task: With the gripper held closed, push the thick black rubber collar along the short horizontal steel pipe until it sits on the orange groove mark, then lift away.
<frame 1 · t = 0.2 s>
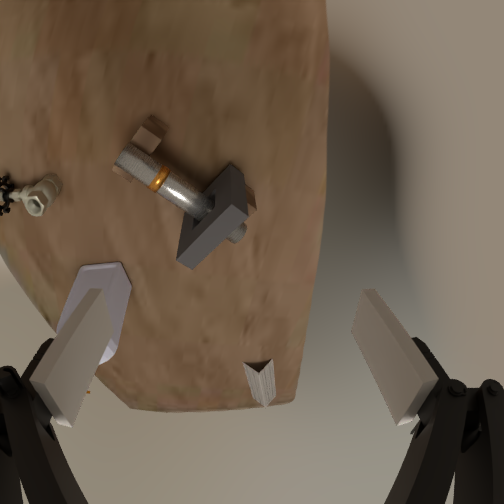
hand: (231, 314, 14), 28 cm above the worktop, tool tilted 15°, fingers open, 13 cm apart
valve: (35, 183, 37), on the worktop
saddles: (188, 171, 39), on the worktop
pipe: (182, 194, 34), on the saddles, point 6 cm above the worktop
corner bead: (261, 379, 85), on the worktop
collar: (211, 214, 36), point 6 cm above the worktop, slide at 0.0 cm
soap bottle: (107, 275, 51), on the worktop
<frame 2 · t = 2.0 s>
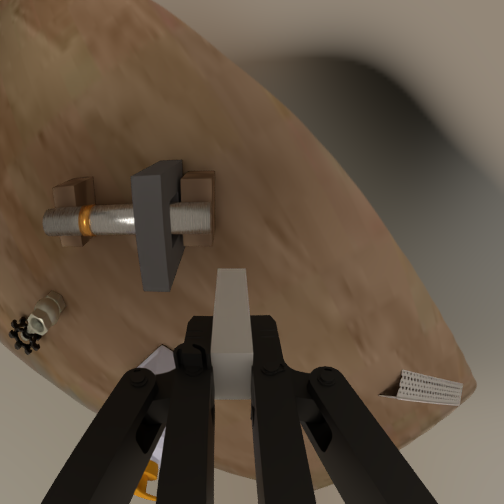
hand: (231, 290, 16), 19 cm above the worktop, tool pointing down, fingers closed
valve: (46, 310, 39), on the worktop
saddles: (139, 202, 33), on the worktop
pipe: (121, 219, 27), on the saddles, point 6 cm above the worktop
corner bead: (425, 387, 54), on the worktop
collar: (163, 218, 27), point 6 cm above the worktop, slide at 0.0 cm
soap bottle: (165, 367, 44), on the worktop
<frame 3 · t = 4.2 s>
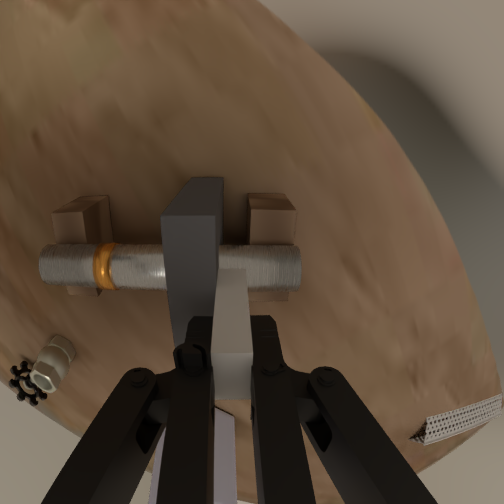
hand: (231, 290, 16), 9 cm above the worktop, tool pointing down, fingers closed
valve: (52, 355, 31), on the worktop
saddles: (176, 233, 25), on the worktop
pipe: (158, 267, 19), on the saddles, point 6 cm above the worktop
corner bead: (459, 413, 46), on the worktop
collar: (202, 268, 19), point 7 cm above the worktop, slide at 1.5 cm, touching gripper
soap bottle: (198, 418, 36), on the worktop
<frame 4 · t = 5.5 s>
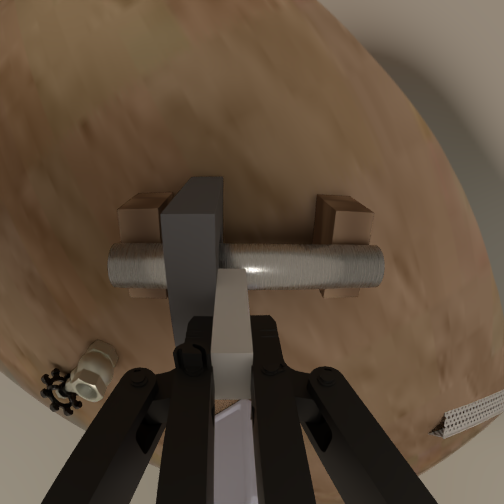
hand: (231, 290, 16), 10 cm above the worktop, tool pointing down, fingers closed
valve: (88, 361, 31), on the worktop
saddles: (244, 232, 25), on the worktop
pipe: (248, 266, 19), on the saddles, point 6 cm above the worktop
corner bead: (475, 406, 46), on the worktop
collar: (202, 266, 19), point 6 cm above the worktop, slide at 7.4 cm, touching gripper
soap bottle: (241, 418, 36), on the worktop
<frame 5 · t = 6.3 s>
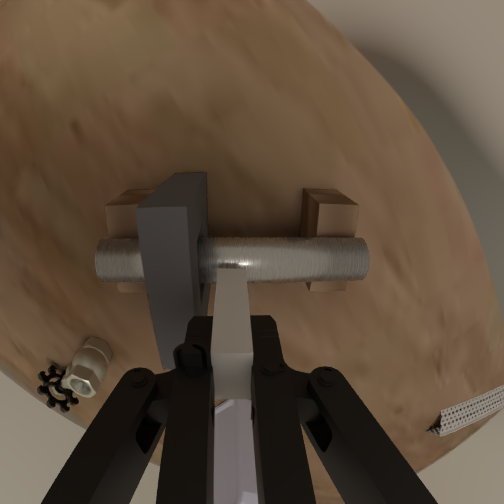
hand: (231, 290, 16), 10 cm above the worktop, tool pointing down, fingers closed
valve: (84, 358, 31), on the worktop
saddles: (231, 227, 25), on the worktop
pipe: (231, 260, 19), on the saddles, point 6 cm above the worktop
corner bead: (474, 402, 47), on the worktop
collar: (184, 260, 19), point 6 cm above the worktop, slide at 7.5 cm
soap bottle: (235, 414, 36), on the worktop
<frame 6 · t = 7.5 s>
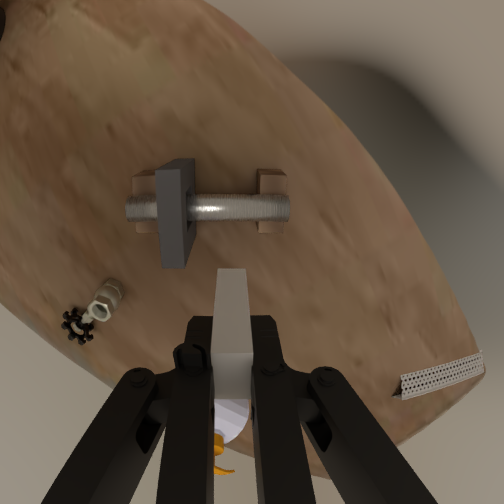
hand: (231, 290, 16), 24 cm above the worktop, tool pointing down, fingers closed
valve: (101, 299, 44), on the worktop
saddles: (210, 194, 38), on the worktop
pipe: (206, 207, 32), on the saddles, point 6 cm above the worktop
corner bead: (439, 372, 59), on the worktop
collar: (178, 207, 32), point 6 cm above the worktop, slide at 7.5 cm
soap bottle: (216, 350, 49), on the worktop
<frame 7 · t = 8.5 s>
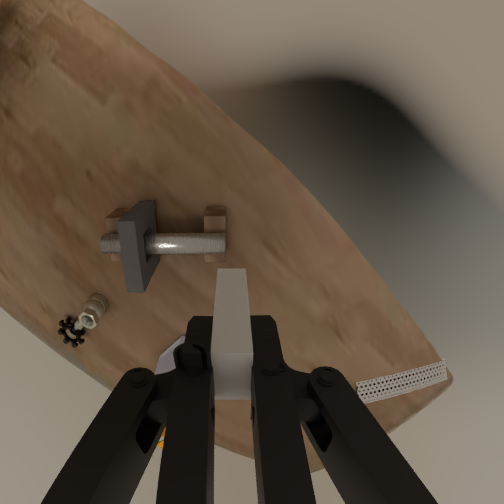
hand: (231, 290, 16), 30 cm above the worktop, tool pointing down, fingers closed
valve: (90, 310, 52), on the worktop
saddles: (170, 228, 46), on the worktop
pipe: (161, 243, 40), on the saddles, point 6 cm above the worktop
corner bead: (400, 379, 68), on the worktop
collar: (140, 243, 40), point 6 cm above the worktop, slide at 7.5 cm
soap bottle: (184, 353, 57), on the worktop
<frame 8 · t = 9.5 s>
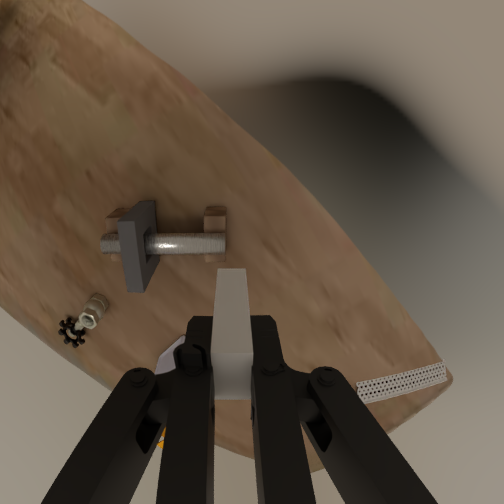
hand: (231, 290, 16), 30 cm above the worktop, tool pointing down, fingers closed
valve: (90, 310, 52), on the worktop
saddles: (170, 228, 46), on the worktop
pipe: (161, 243, 40), on the saddles, point 6 cm above the worktop
corner bead: (399, 379, 68), on the worktop
collar: (140, 243, 40), point 6 cm above the worktop, slide at 7.5 cm
soap bottle: (184, 353, 57), on the worktop
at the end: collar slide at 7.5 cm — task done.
